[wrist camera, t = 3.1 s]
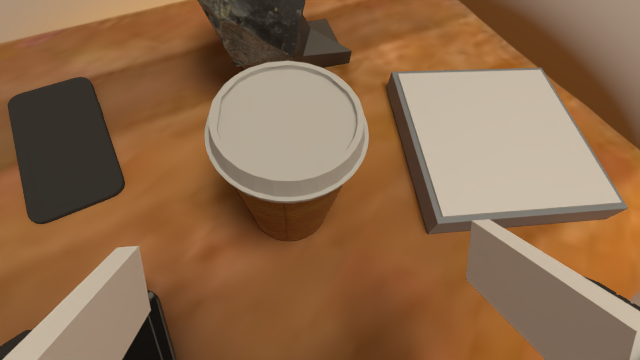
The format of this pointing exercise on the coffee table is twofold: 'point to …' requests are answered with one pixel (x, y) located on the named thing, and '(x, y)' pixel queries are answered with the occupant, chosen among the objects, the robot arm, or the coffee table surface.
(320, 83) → the disposable coffee cup
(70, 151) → the phone
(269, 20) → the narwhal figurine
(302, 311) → the coffee table surface
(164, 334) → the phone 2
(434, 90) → the plate
